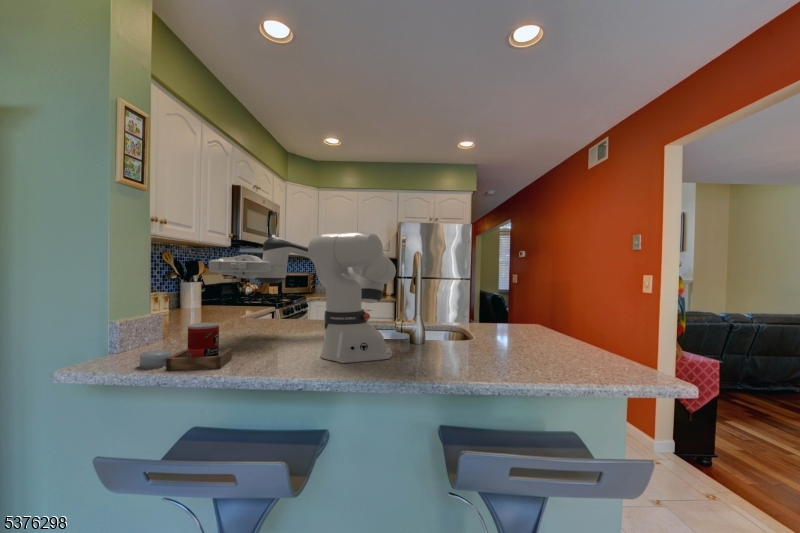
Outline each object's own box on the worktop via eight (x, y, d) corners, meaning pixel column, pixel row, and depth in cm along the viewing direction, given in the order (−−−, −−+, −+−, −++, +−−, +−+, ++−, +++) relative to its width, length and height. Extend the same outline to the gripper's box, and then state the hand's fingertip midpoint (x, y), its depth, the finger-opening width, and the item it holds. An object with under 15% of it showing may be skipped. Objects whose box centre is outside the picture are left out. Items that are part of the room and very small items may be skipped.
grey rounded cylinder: (174, 361, 100) (175, 349, 100) (162, 368, 93) (162, 355, 93) (148, 362, 99) (148, 350, 99) (133, 369, 92) (133, 356, 92)
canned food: (209, 366, 95) (209, 326, 95) (180, 366, 96) (181, 326, 96) (224, 359, 103) (224, 322, 103) (197, 359, 103) (198, 322, 103)
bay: (231, 358, 104) (231, 348, 104) (220, 368, 94) (220, 357, 94) (183, 360, 102) (183, 350, 102) (166, 370, 92) (166, 358, 92)
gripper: (274, 275, 131) (267, 275, 117) (216, 274, 127) (202, 275, 114) (275, 258, 131) (267, 257, 117) (217, 257, 127) (202, 256, 114)
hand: (235, 266), depth 116 cm, fingers closed
